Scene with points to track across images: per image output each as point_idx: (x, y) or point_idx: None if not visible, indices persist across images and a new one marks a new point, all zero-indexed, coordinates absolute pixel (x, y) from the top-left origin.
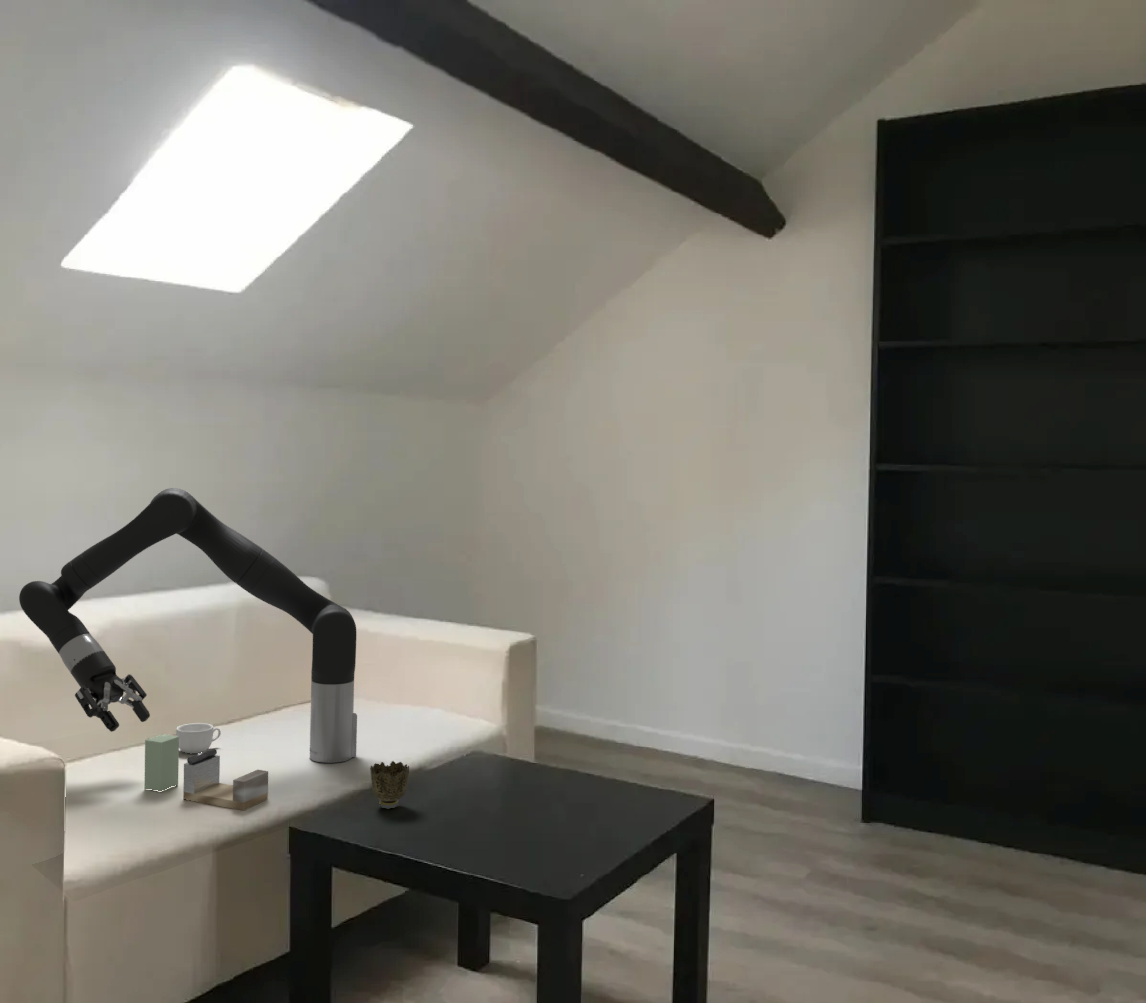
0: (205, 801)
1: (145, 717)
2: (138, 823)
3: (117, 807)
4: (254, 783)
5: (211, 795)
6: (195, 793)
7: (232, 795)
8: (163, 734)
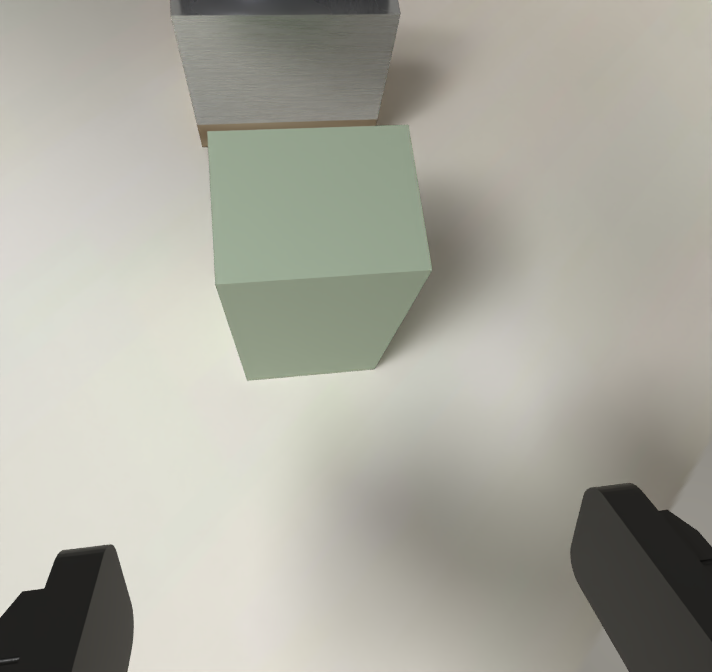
0: None
1: (115, 579)
2: (648, 101)
3: (597, 286)
4: None
5: None
6: None
7: None
8: (222, 270)
